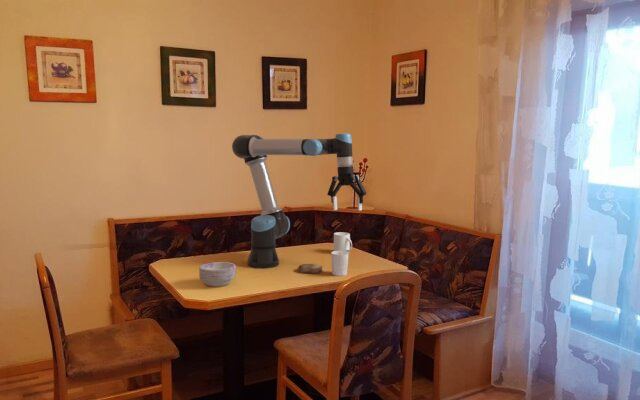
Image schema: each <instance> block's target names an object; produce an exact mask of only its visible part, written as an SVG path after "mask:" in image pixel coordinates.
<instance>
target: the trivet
mask: <svg viewBox="0 0 640 400" xmlns="http://www.w3.org/2000/svg"><path fill="white" fill-rule="evenodd" d="M298 272H299V273H301V274H304V275H314V274H316V273H317V274H320V273H322V272H323V266H322V265H321V264H318V263H303V264H299V266H298Z"/></svg>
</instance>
